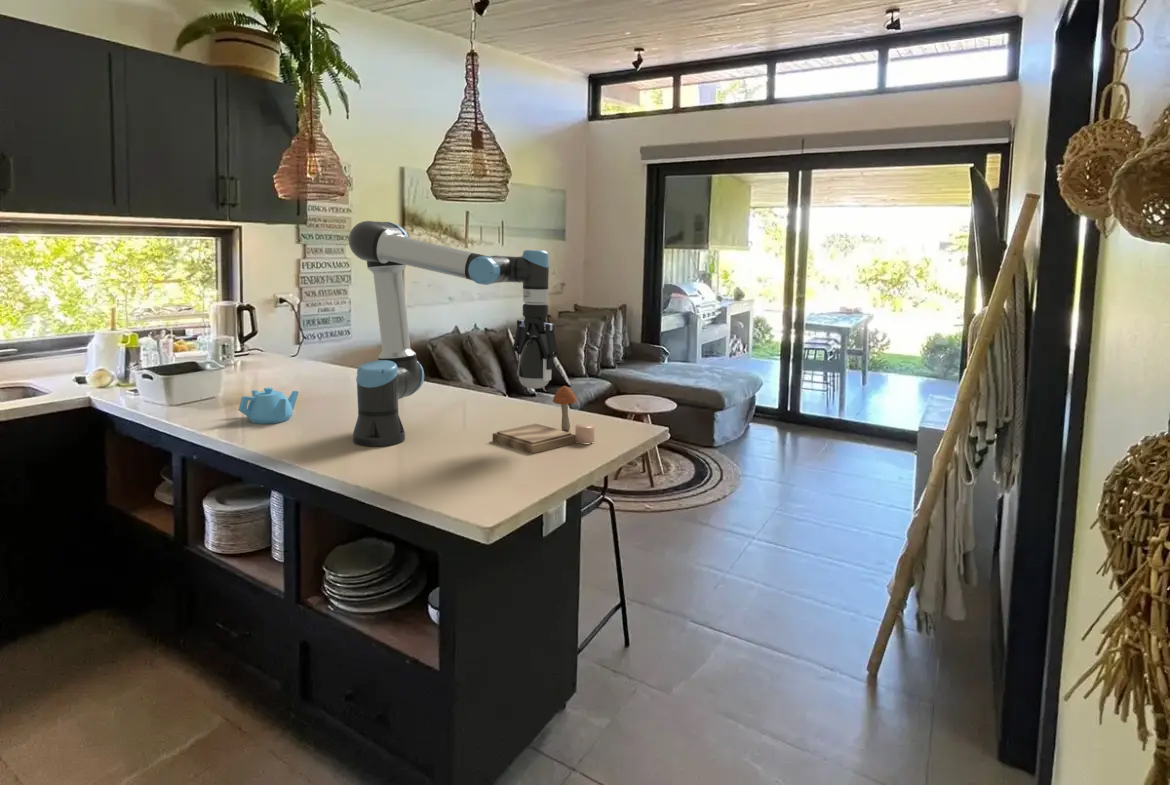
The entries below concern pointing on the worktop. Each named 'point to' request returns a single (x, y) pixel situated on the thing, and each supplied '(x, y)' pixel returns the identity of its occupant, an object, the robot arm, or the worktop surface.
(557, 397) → the mushroom
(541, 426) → the walnut tray
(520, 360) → the pump dispenser
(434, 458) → the worktop surface
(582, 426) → the pink rounded glossy part
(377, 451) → the worktop surface
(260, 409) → the teapot
